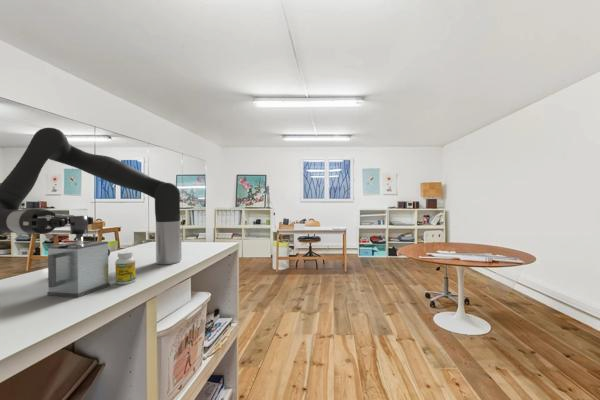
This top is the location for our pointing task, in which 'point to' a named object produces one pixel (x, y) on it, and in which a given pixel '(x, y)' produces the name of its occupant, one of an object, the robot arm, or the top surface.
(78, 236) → the dark grey knob handle
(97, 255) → the grey box
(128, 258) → the supplement bottle
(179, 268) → the top surface
